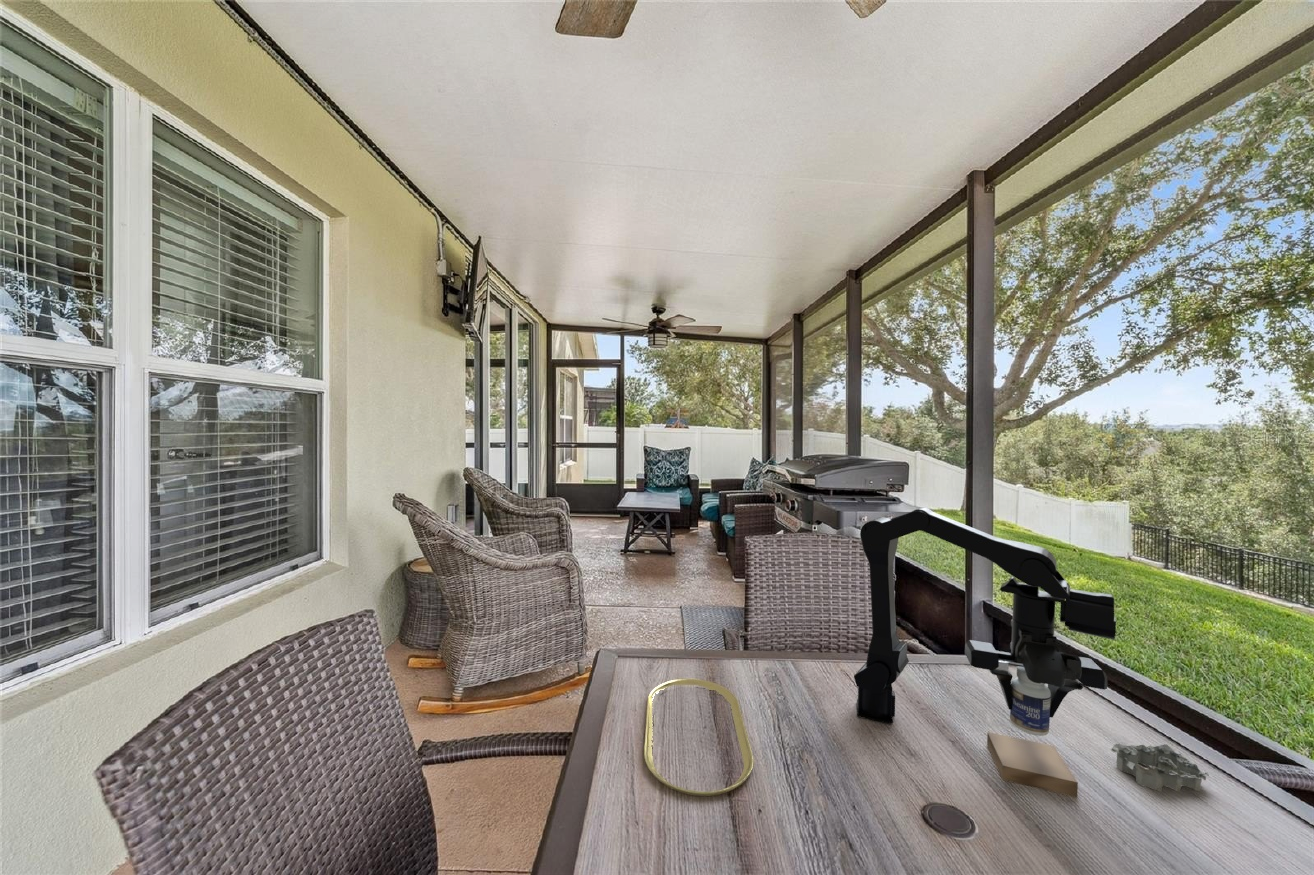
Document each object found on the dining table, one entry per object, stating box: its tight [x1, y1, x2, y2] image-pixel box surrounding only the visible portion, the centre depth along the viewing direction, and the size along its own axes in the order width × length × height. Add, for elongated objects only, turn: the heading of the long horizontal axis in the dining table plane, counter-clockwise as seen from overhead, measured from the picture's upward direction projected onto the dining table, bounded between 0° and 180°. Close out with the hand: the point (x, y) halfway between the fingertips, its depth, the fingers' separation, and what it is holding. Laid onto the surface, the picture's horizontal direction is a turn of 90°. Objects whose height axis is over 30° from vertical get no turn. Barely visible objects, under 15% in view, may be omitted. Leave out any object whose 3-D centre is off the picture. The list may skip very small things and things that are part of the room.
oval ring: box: [643, 678, 754, 797], centre depth 94 cm, size 19×35×2 cm, turn 179°
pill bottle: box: [1009, 666, 1051, 737], centre depth 85 cm, size 5×5×10 cm
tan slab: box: [986, 731, 1079, 798], centre depth 85 cm, size 10×10×2 cm
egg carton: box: [1110, 743, 1210, 792], centre depth 84 cm, size 11×8×4 cm
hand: (1029, 712), depth 85 cm, fingers closed on pill bottle, 5 cm apart
